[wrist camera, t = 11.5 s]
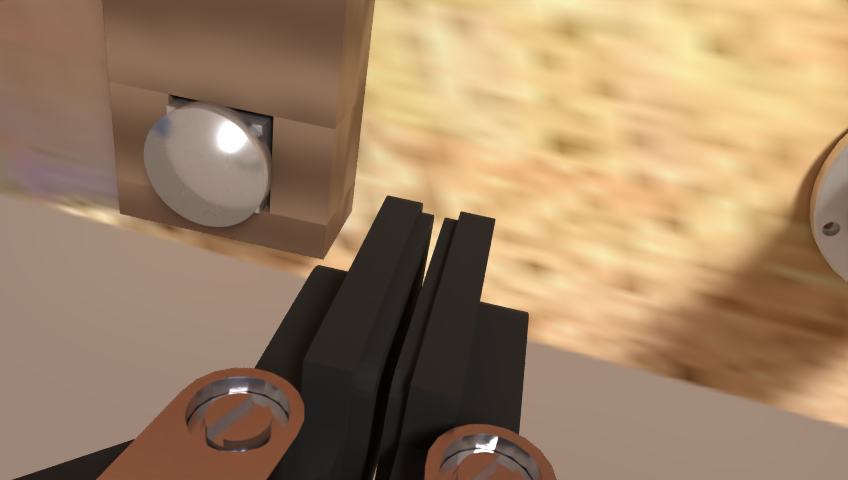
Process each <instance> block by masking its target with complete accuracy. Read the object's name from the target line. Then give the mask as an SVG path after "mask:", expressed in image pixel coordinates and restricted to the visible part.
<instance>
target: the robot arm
mask: <svg viewBox="0 0 848 480" xmlns="http://www.w3.org/2000/svg"><path fill="white" fill-rule="evenodd" d="M422 209H423V203H420V202H416V201H411V200H406V199H402V198H397V197H393V196H387V197H386V199H385V201H384V202H383V204H382V206H381V208H380V210H379V212H378V214H377V216H376V218H375V220H374V222H373V224H372V226H371V228H370V230H369V232H368V234H367V236H366V238H365V240H364V242H363V244H362V246H361V248H360V250H359V252H358V254H357V256H356V258H355V259H354V261H353V263H352V265H351V267H350V269H349V271H343V270H339V269H334V268H330V267H325V266H321V265H318V266H316V267H315V268H314V269H313V271H312V272H311V274H310V275H309V277H308V279H307V281H306V282H305V284H304V286H303V287H302V289H301V291H300V292H299V294H298V296H297V297H296V299H295V301H294V303H293V304H292V306H291V308H290V309H289V311H288V313H287V314H286V316H285V318H284V319H283V321H282V323H281V324H280V326H279V328H278V330H277V331H276V333H275V334H274V336H273V338H272V340H271V341H270V343H269V345H268V346H267V348H266V350H265V351H264V353H263V355H262V356H261V358H260V360H259V362H258V363H257V365H256V367H255V368H230V369H225V370H220V371H215V372H212V373H210V374H208V375H205V376H203V377H201V378H199V379H196V380H195V381H194V382H193V383H191V384H190V385H188V386H187V387H186V388H185V389H183V390H182V391H181V392H180V393H179V394H178V395H177V396H176V397H175V398H174V399H173V400H172V401H171V402H170V404H169V405H168V406H167V407H166V408H165V409H164V410H163V411H162V412H161V413H160V414H159V415H158V416H157V417H156V418H155V419H154V420H153V421H152V422H151V423H150V424H149V425H148V426H147V427H146V429H145V430H144V431H143V432H142V433H141V434H140V435H139V436H138V437H137V438H136V439H133V440H130V441H128V442H124V443H122V444H119V445H116V446H112V447H109V448H106V449H103V450H100V451H98V452H94V453H91V454H88V455H85V456H82V457H79V458H76V459H73V460H70V461H67V462H64V463H61V464H58V465H55V466H52V467H49V468H47V469H44V470H41V471H37V472H35V473H32V474H28V475H25V476H22V477H19V478H16V479H13V480H373V477H374V473H375V470H376V467H377V470H376V477H375V480H557V479H556V477H555V474H554V471H553V468H552V465H551V464H550V463H549V461H548V460H547V459H546V457H545V456H544V455H543V453H542V452H541V450H539V449H538V448H537V447H536V446H534V445H533V444H532V443H531V442H530V441H528V440H527V439H526V438H524V437H522V436H520V435H519V428H520V416H521V404H522V392H523V380H524V379H523V378H524V367H525V356H526V344H527V332H528V318H529V314H528V312H524V311H520V310H515V309H511V308H506V307H502V306H497V305H493V304H489V303H484V302H480V298H481V293H482V287H483V282H484V277H485V272H486V266H487V261H488V256H489V251H490V246H491V240H492V235H493V230H494V225H495V219H494V218H489V217H485V216H480V215H475V214H471V213H466V212H462V211H461V212H460V215H459V219H458V220H454V219H450V218H445V219H444V221H443V225H442V228H441V231H440V234H439V237H438V240H437V243H436V246H435V249H434V252H433V255H432V258H431V261H430V264H429V267H428V270H427V274H426V277H425V280H424V283H423V278H424V272H425V267H426V261H427V256H428V250H429V244H430V239H431V233H432V228H433V222H434V215H432V214H427V213H422ZM829 222H830V223H829ZM827 223H829V224H827ZM810 224H811V229H812V233H813V238H814V240H815V242H816V244H817V246H818V248H819V250H820V252H821V254H822V255H823V257H824V258H825V260H826V261H827V262H828V264H829V265H830V267H831V268H832V269H833V270H834V271H835V272H836V273H837V274H838V275H839V276H840V277H841V278H842V279H844V280H845V281H846V282H847V283H848V133H847V134H846V135H845V136H844V137H843V138H842V139H841V140H840V141H839V142H838V144H837V145H836V146H835V148H834V149H833V150H832V152H831V153H830V154H829V156H828V157H827V159H826V160H825V161H824V164H823V166H822V168H821V170H820V172H819V174H818V176H817V178H816V180H815V183H814V187H813V191H812V195H811V199H810ZM825 224H827V225H825ZM422 284H423V286H422Z"/></svg>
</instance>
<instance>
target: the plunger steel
mask: <svg viewBox="0 0 848 480" xmlns="http://www.w3.org/2000/svg"><path fill="white" fill-rule="evenodd" d="M273 120H274V116H269V115H265V114H260V113H255V112H251V111H246V110H241V109H236V108H232V107H227V106H223V105H221V104H217V103H213V102H206V101H198V100H194V99H189V98H184V97H179V98H178V99H176V100H175V101H173V102H172V103H170V104H169V105H167V115H165V116H164V117H162V118H161V119H159V120H158V121H157V122H156V123H155V124H154V125H153V127H152V128H151V129H150V131H149V133H148V135H147V138H146V141H145V146H144V163H145V168H146V172H147V175H148V177H149V180H150V182H151V184H152V186H153V188H154V189H155V191H156V192H157V194H158V195H159V196H160V197H161V199H162V200H163V201H164V202H165V203H166V204H167V205H168V206H169V207H170V208H171V209H173V210H174V211H175V212H177V213H178V214H180V215H181V216H183V217H184V218H186V219H188V220H190V221H193V222H195V223H198V224H202V225H205V226H211V227H226V226H231V225H235V224H237V223H240V222H242V221H244V220H246V219H247V218H248V217H249V216H251V215H252V214H253V213H260V212H261V211H262V209H263V208H264V207H265V206H266V205H267V203H268V202H269V201H270V192H271V186H272V182H273V162H272V144H273Z"/></svg>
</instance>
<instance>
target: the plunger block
mask: <svg viewBox="0 0 848 480" xmlns="http://www.w3.org/2000/svg"><path fill="white" fill-rule="evenodd" d="M102 2H103V14H104V26H105V38H106V50H107V62H108V74H109V86H110V98H111V110H112V122H113V134H114V146H115V158H116V170H117V182H118V194H119V207H120V214H124V215H128V216H133V217H137V218H142V219H146V220H151V221H155V222H159V223H164V224H168V225H173V226H177V227H181V228H186V229H190V230H195V231H199V232H204V233H208V234H212V235H217V236H221V237H226V238H230V239H235V240H239V241H243V242H248V243H252V244H257V245H261V246H266V247H270V248H274V249H279V250H283V251H288V252H292V253H297V254H301V255H305V256H310V257H314V258H319V259H324V258H325V256H326V254H327V252H328V251H329V249H330V247H331V246H332V244H333V242H334V240H335V239H336V237H337V235H338V234H339V232H340V230H341V228H342V227H343V225H344V223H345V222H346V220H347V218H348V216H349V215H350V213H351V211H352V204H353V195H354V185H355V176H356V167H357V158H358V149H359V140H360V131H361V122H362V112H363V103H364V94H365V85H366V76H367V67H368V58H369V49H370V39H371V30H372V21H373V12H374V3H375V0H102ZM179 97H184V98H189V99H194V100H198V101H206V102H213V103H217V104H221V105H223V106H227V107H232V108H236V109H241V110H246V111H251V112H255V113H260V114H265V115H269V116H274V120H273V144H272V162H273V182H272V186H271V192H270V201H269V202H268V203H267V205H266V206H265V207H264V208H263V209H262V211H261V212H260V213H253V214H252V215H251V216H249V217H248V218H247V219H246V220H244V221H242V222H240V223H237V224H235V225H231V226H226V227H211V226H205V225H202V224H198V223H195V222H193V221H190V220H188V219H186V218H184V217H183V216H181V215H180V214H178V213H177V212H175V211H174V210H173V209H171V208H170V207H169V206H168V205H167V204H166V203H165V202H164V201H163V200H162V199H161V197H160V196H159V195H158V194H157V192H156V191H155V189H154V188H153V186H152V184H151V182H150V180H149V177H148V175H147V172H146V168H145V163H144V146H145V141H146V138H147V135H148V133H149V131H150V129H151V128H152V127H153V125H154V124H155V123H156V122H157V121H158V120H159V119H161V118H162V117H164V116H165V115H167V105H169V104H170V103H172V102H173V101H175V100H176V99H178V98H179Z"/></svg>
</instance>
